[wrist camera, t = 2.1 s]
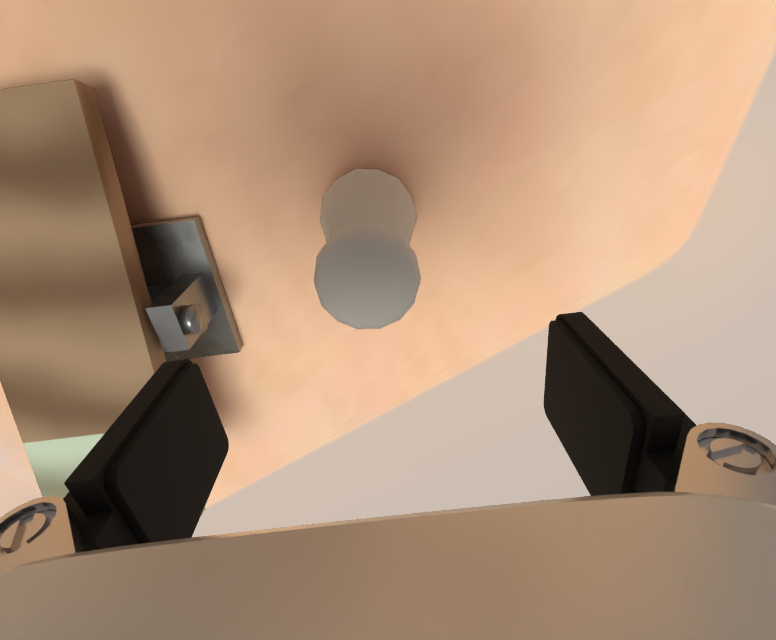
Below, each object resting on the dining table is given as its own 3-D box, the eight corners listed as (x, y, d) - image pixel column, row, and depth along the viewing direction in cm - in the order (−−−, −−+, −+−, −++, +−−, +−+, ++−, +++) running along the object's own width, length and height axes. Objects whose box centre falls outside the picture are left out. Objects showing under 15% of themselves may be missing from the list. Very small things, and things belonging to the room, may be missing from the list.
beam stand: (-12, 243, 27) (-104, 278, 22) (202, 215, 27) (161, 243, 22) (62, 367, 32) (2, 420, 27) (245, 344, 32) (220, 393, 26)
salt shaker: (332, 153, 25) (301, 196, 14) (421, 173, 26) (461, 230, 15) (318, 242, 28) (283, 341, 17) (400, 258, 29) (420, 364, 17)
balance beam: (-70, 111, 22) (-102, 103, 21) (94, 88, 22) (73, 79, 20) (75, 523, 28) (58, 540, 27) (205, 508, 28) (195, 524, 26)
